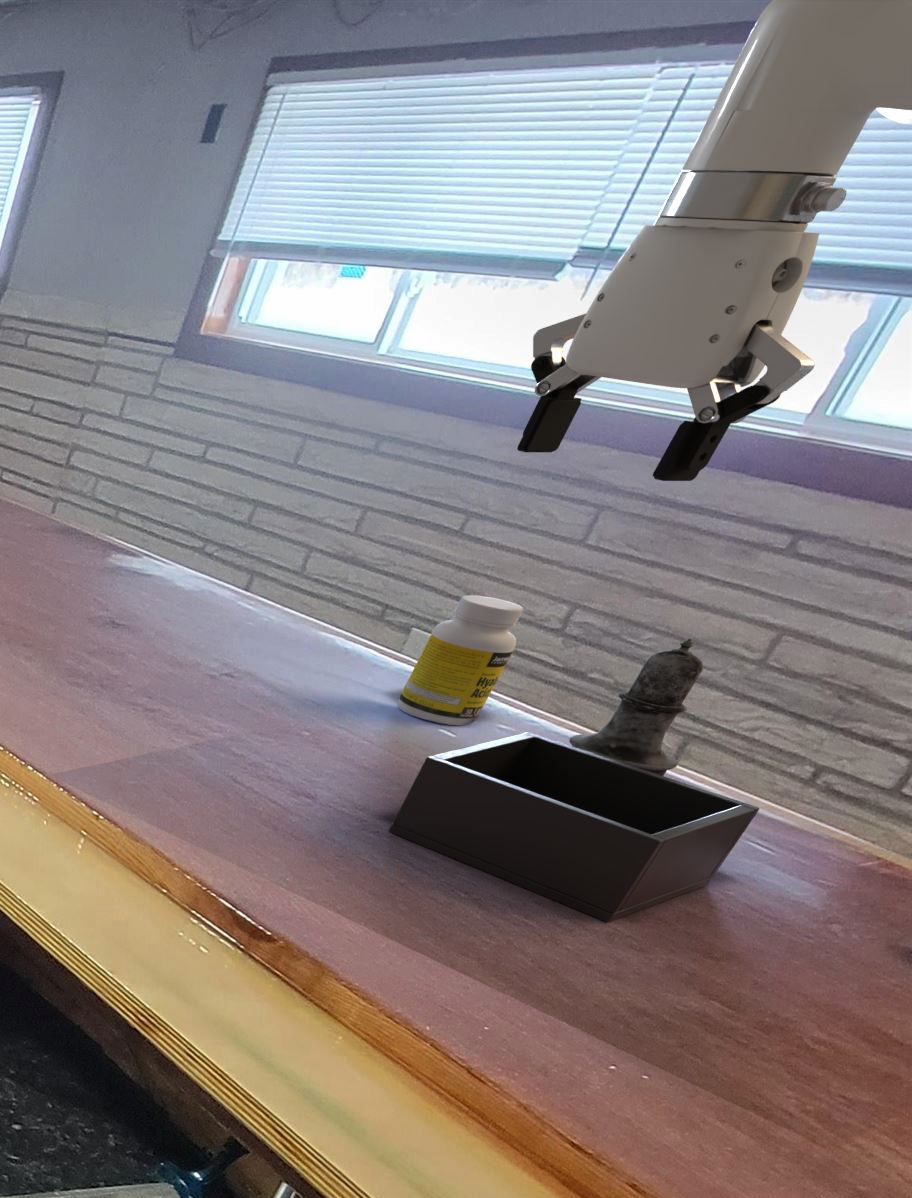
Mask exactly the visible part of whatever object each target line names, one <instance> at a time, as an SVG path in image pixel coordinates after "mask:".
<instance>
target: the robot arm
mask: <svg viewBox="0 0 912 1198" xmlns="http://www.w3.org/2000/svg"><path fill="white" fill-rule="evenodd" d="M875 110H877V111H878V112H879V113H880V114H881V115H883V116H884V117H885V118H887V119H889V120H891V121H894V122H897V123H899V124H904V125H912V0H771V1H770V2H769V3H768V5H766V7H764V10H762V12H761V14H760V15H759V17H758V19H757V20H756V22H755V24H754V26H753V27H752V29H751V31H750V33H749V35H748V37H747V40H746V42H745V43H744V46H743V48H742V50H741V51H740V53H739V55H738V57H737V59H736V62H735V63H734V64H733V67H732V69H731V72H730V73H729V75H728V77H727V79H726V81H725V83H724V85H723V87H722V89H721V91H720V93H719V95H718V96H717V99H716V100H715V103H714V104H713V107H712V109H711V111H710V112H709V115H708V116H707V119H706V120H705V122H704V125H703V126H702V128H701V131H700V133H699V134H698V136H697V138H696V140H695V142H694V144H693V146H692V148H691V150H690V152H689V155H688V157H687V159H686V160H685V162H684V164H683V166H682V168H681V172H679V173H678V176H677V178H676V180H675V182H674V183H673V186H672V188H671V189H670V191H669V194H668V196H667V197H666V199H665V201H664V203H663V205H662V207H661V209H660V211H659V214H658V216H657V218H656V219H655V222H654V223H653V225H650V224H645V225H644V226H643V227H642V229H641V230H640V231H639V232H638V234H637V235H635V237H634V238H633V240H632V241H631V243H630V244H629V246H628V247H627V249H625V250H624V252H623V254H622V255H621V257H620V258H619V259H618V261H617V263H616V264H615V265H614V267H613V268H612V270H611V271H610V273H609V275H608V276H607V277H606V280H605V281H604V283H603V284H602V286H601V287H600V289H599V290H598V292H597V294H596V296H595V298H594V299H593V301H592V302H591V304H590V306H589V308H588V309H587V311H586V313H583V314H580V315H577V316H574V317H571V318H568V319H566V320H563V321H559V322H557V323H554V324H551V325H548V326H544V327H542V328H539V329H538V330H536V331H535V333H533V337H532V357H533V358H534V359H533V360H532V362H531V365H530V369H531V372H532V374H533V377H534V380H535V382H536V385H535V387H534V393H535V395H536V396H538V397H539V399H538V401H537V403H536V406H535V408H534V410H533V411H532V413H531V416H530V417H529V420H528V422H527V423H526V425H525V427H524V429H523V433H522V437H521V439H520V441H519V443H518V445H517V448H516V449H517V451H518V452H521V453H553V452H556V451H558V449H559V447H560V445H561V444H562V442H563V440H564V438H565V436H566V434H567V432H568V430H569V428H570V426H571V424H572V422H573V420H574V418H575V416H576V415H577V413H578V410H579V408H580V407H581V404H582V397H576V395H577V394H578V393H580V392H582V391H583V390H584V389H586V388H587V387H589V386H590V385H592V384H594V383H595V382H597V381H598V380H600V379H601V378H606V379H612V380H617V381H618V380H619V381H624V382H625V381H626V382H632V383H638V384H645V385H646V384H647V385H652V386H659V387H666V388H675V389H687V393H688V397H689V400H690V403H691V406H692V410H693V413H694V419H693V420H684V421H683V422H682V423H681V424H679V426H678V428H677V430H676V431H675V433H674V435H673V437H672V438H671V441H670V442H669V443H668V445H667V448H665V451H664V453H663V455H662V456H661V458H660V460H659V462H658V463H657V465H656V467H655V469H654V471H653V472H652V477H653V479H654V480H657V481H662V482H691V481H694V480H695V479H696V478H697V477H698V475H699V473H700V472H701V471H702V470H703V469H705V468H706V467H707V465H708V464H709V462H710V461H711V458H712V456H713V455H714V454H715V452H716V450H717V448H718V447H719V445H720V443H721V441H722V439H723V438H724V436H725V434H727V433H726V432H727V431H728V430H729V427H730V426H731V425H732V424H738V423H740V422H743V421H744V420H745V419H746V417H747V416H749V415H751V414H753V413H755V412H757V411H759V410H761V409H763V408H765V407H767V406H769V405H772V404H774V403H775V402H776V401H778V400H779V399H780V396H781V395H782V394H783V393H784V392H787V391H789V389H790V388H792V387H793V386H795V384H797V383H798V382H799V381H801V380H802V379H803V378H805V377H806V376H807V375H809V374H810V373H811V372H812V371H813V370H814V368H815V366H816V365H815V361H814V360H813V359H812V358H811V357H809V356H808V355H807V354H806V353H805V352H803V351H802V350H800V349H799V348H798V347H797V346H796V345H794V344H793V343H792V342H790V341H789V340H788V339H787V338H786V337H784V336H783V332H784V330H785V328H786V326H787V325H788V322H789V319H790V318H791V315H792V313H793V311H794V309H795V307H796V304H797V302H798V299H799V297H800V295H801V292H802V290H803V288H804V285H805V282H806V280H807V277H808V274H809V272H810V269H811V265H812V262H813V258H814V256H815V253H816V248H817V245H818V241H819V237H820V233H819V232H805V231H806V230H807V228H808V226H809V223H812V222H813V221H814V219H815V218H816V216H817V214H818V213H820V212H833V211H835V210H838V208H840V206H841V205H842V204H843V203H844V201H845V200H846V197H847V189H846V188H844V187H835V186H834V184H835V182H836V180H837V177H835V176H837V175H838V173H839V172H840V170H841V168H842V166H843V165H844V162H845V160H846V158H847V157H848V156H849V153H850V152H851V150H852V149H853V146H854V144H855V143H856V142H857V139H858V137H859V136H860V134H861V132H862V131H863V129H864V127H865V125H866V123H867V121H868V119H869V118H870V116H871V115H872V113H874V111H875ZM570 340H572V341H571V343H570V345H569V348H568V350H567V353H566V356H565V358H564V357H563V356H562V353H563V352H564V347H565V345H566V343H567V342H568V341H570ZM765 367H766V371H765V373H764V375H762V376H761V377H760V378H759V380H758V381H757V382H756V383H755V384H752V383H754V381H756V380H757V379H758V377H759V375H761V373H762V372H763V370H764V368H765ZM744 387H745V388H744ZM742 388H743V389H742Z"/></svg>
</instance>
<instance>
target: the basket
mask: <svg viewBox="0 0 912 1198" xmlns="http://www.w3.org/2000/svg"><path fill="white" fill-rule="evenodd" d="M759 811H760V807H759V806H756V805H753V804H749V803H747V802H744V801H741V800H737V799H735V798H731V797H728V796H725V795H722V794H719V793H716V792H713V791H710V790H707V789H704V788H701V787H698V786H695V785H692V784H688V783H685V782H683V781H679V780H676V779H673V778H670V777H667V776H665V775H664V776H661V775H658V774H655V773H652V772H649V771H646V770H643V769H640V768H637V767H634V766H631V765H628V764H625V763H621V762H618V761H615V760H612V759H609V758H606V757H603V756H600V755H597V754H594V753H591V752H588V751H585V750H582V749H579V748H576V747H573V746H572V745H571V744H570V745H569V744H566V743H564V742H561V741H557V740H554V739H551V738H548V737H545V736H542V735H539V734H536V733H532V732H529V731H528V732H523V733H519V734H514V735H511V736H507V737H502V738H499V739H494V740H490V741H486V742H482V743H478V744H474V745H471V746H467V747H461V748H458V749H454V750H450V751H446V752H441V753H438V754H434V755H431V756H426V758H425V760H424V761H423V764H422V766H421V767H420V769H419V772H418V773H417V775H416V777H415V779H414V781H413V783H412V785H411V787H410V788H409V790H408V792H407V794H406V796H405V798H404V800H403V803H402V804H401V806H400V807H399V810H398V812H397V814H396V815H395V818H394V819H393V821H392V823H391V825H390V827H389V829H388V833H391V834H393V835H396V836H398V837H401V838H403V839H405V840H408V841H410V842H413V843H414V844H417V845H420V846H422V847H425V848H428V849H429V850H432V851H434V852H437V853H439V854H442V855H443V856H447V857H449V858H452V859H454V860H456V861H459V862H460V863H464V864H465V865H468V866H471V867H473V868H475V869H478V870H480V871H482V872H485V873H488V874H490V875H492V876H495V877H497V878H500V879H502V880H505V881H506V882H508V883H512V884H514V885H515V886H516V885H517V886H519V887H522V888H523V889H526V890H529V891H530V892H533V893H535V894H538V895H541V896H543V897H545V898H548V899H550V900H551V901H555V902H557V903H559V904H562V905H564V906H567V907H569V908H572V909H574V910H577V911H579V912H582V913H584V914H586V915H588V916H591V917H594V918H596V919H598V920H601V921H604V922H605V923H609V922H613V921H615V920H618V919H621V918H623V917H626V916H628V915H632V914H633V913H636V912H640V911H642V910H645V909H647V908H650V907H653V906H655V905H657V904H661V903H663V902H666V901H669V900H672V899H674V898H676V897H679V896H681V895H685V894H688V893H689V892H692V891H695V890H698V889H700V888H703V887H706V886H708V885H709V884H710V883H711V881H712V880H713V877H714V876H715V875H716V874H717V872H718V871H719V869H720V867H721V866H722V865H723V864H724V862H725V860H726V859H727V857H728V856H729V854H730V853H731V851H732V850H733V849H734V847H735V846H736V844H737V843H738V841H739V839H740V838H741V837H742V836H743V834H744V832H745V831H746V830H747V828H748V827H749V826H750V824H751V822H752V821H753V820H754V818H755V817H756V815H757V813H759Z"/></svg>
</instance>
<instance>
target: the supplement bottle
mask: <svg viewBox="0 0 912 1198" xmlns="http://www.w3.org/2000/svg"><path fill="white" fill-rule="evenodd" d="M523 612H524V607H523V606H521V605H520V604H518V603H515V602H512V601H508V600H505V599H501V598H498V597H497V598H496V597H490V596H486V595H485V596H484V595H471V594H470V595H463V596H462V597H461V598H460V600H459V601H458V603H457V606H456V607H455V610H454V612H453V614H454V615H455V617H454V618H453V619H449V620H445V621H442V622H440V623H438V624H437V625H436V626H435V627H434V628H433V630H432V632H431V634H430V636H429V638H428V640H427V642H426V644H425V646H424V648H423V650H422V652H421V654H420V656H419V658H418V660H417V662H416V664H415V666H414V668H413V670H412V672H411V674H410V676H409V678H408V680H407V682H406V683H405V685H404V687H403V689H402V691H401V694H400V695H399V697H398V698H397V699H398V700H397V704H396V705H397V706H398V708H399V709H400V710H401V711H402V712H404V713H406V714H408V715H410V716H413V717H415V718H419V719H421V720H426V721H429V722H434V723H437V724H441V725H442V724H443V725H449V726H468V725H470V724H471V725H472V723H474V722H475V721H476V719H475V718H477V717H478V716H479V714H480V713H481V711H482V709H483V707H484V705H485V704H486V702H487V701H488V699H489V696H490V695H491V693H492V691H493V689H494V687H495V686H496V684H497V682H498V681H499V678H500V677H501V674H502V673H503V671H504V669H505V668H506V666H507V664H508V662H509V661H510V658H511V655H512V654H513V652H514V650H515V648H516V646H517V639H516V637H515V635H514V634H513V633H511V632H510V628H513V627H514V626H516V624H517V623H518V621H519V619H520V618H521V616H522V614H523Z"/></svg>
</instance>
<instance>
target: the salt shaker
mask: <svg viewBox="0 0 912 1198" xmlns="http://www.w3.org/2000/svg"><path fill="white" fill-rule="evenodd" d="M679 644H680V647H679V648H674V649H664V650H660V651H656V652H655V653H652V654H651V655H649V657H648V658H647V660H646V661H645V662H644V664H643V666H642V667H641V669H640V671H639V673H638V675H637V676H636V677H635V680H634V681H633V683H632V684H631V687H630V688H629V690H626V691H621V692H619V693H618V697H619V699H620V702H619V704H618V706H617V708H616V709H615V711H614V713H613V714H612V716H611V718H610V719H609V720H608V721H607V723H606V724H605V725H604V726H603V727H602V728H601V729H599V730H598V731H597V732H594V733H580V734H575V735H573V736H571V737H570V738H569V741H568V742H569V744H570V746H573V747H576V748H579V749H582V750H585V751H588V752H591V753H594V754H597V755H600V756H603V757H606V758H609V759H612V760H615V761H618V762H621V763H625V764H628V765H631V766H634V767H637V768H640V769H643V770H646V771H649V772H652V773H655V774H658V775H661V776H664V777H665V774H666V773H667V771H669V770H673V769H675V768H677V767H678V761H677V760H676V759H675V758H674V757H673V756H671V755H670V754H668V753H667V752H665V751H664V750H663V748H662V747H663V742H664V739H665V734H666V733H667V732H668V730H669V728H670V726H671V725H672V724H673V722H674V720H675V718H676V717H677V715H678V714H680V713H685V712H686V711H687V710H688V709H687V706H686V705H684V704H683V703H684V701H685V700H686V698H687V696H688V695H689V693H690V691H691V690H692V688H693V687H694V685H695V683H696V682H697V680H698V679H699V677H700V675H701V673H702V672H703V669H704V665H703V661H702V660H701V659H700V658H699V657H698V656H696V655H695V654H693V653H692V651H690V648H692V647H694V645H693V641H692V639H691V638H688V639H687V640H684V641H683V642H680V643H679Z"/></svg>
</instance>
